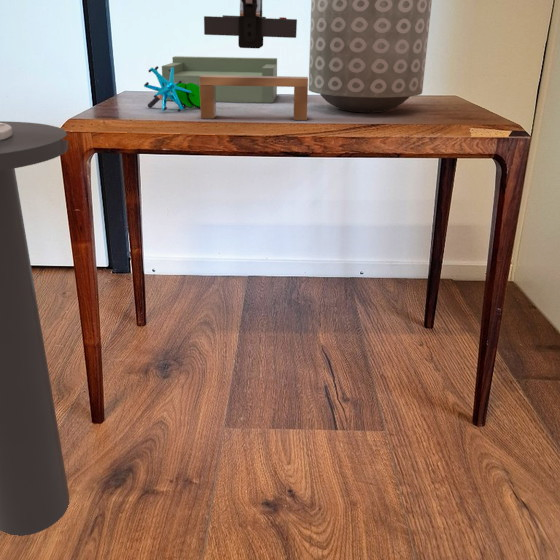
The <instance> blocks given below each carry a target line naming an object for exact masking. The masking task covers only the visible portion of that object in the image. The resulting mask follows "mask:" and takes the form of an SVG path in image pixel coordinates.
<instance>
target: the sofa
mask: <svg viewBox="0 0 560 560" xmlns="http://www.w3.org/2000/svg"><path fill="white" fill-rule="evenodd" d="M171 58H172V62H170V63H167V64H164V65H161V75H162V76H163V77H164V78H165V79H166V80H167V81H168V82H169V78H170V72H169V70H170V69H171V68H172V67H173V68H174V81H173V82H174V83H175V84H176V83H178V82H179V81H182V83H185V84H188V83H194V84H196V85H198V86H199V87H200V82H199V77H200V76H202V75H227V76H278V57H238V56H237V57H235V56H233V57H232V56H229V57H228V56H185V55H183V56H181V55H178V56H177V55H174V56H172V57H171ZM164 85H165V84H164ZM165 86H166V85H165ZM215 87H216V103H252V104H253V103H254V104H256V103H257V104H274V102H275V100H276V98H277V96H278V87H273V86H215ZM170 93H171V91H170ZM171 94H172V93H171ZM167 102H174V101H173V100H171V99H170V98H169V97H168V96H167Z"/></svg>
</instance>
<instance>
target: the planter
mask: <svg viewBox="0 0 560 560" xmlns="http://www.w3.org/2000/svg"><path fill="white" fill-rule="evenodd" d="M432 3H433V0H310V25H309V26H310V31H309V59H308V60H309V62H308V65H309V66H308V92H311V93H314V94H318V95H320V96H321V97H322V99H323V100H325V102H327V103H328V104H330V105H331V106H333V107H335V108H337V109H339V110H342V111H346V112H352V113H382V112H387V111H390V110H393V109H394V108H397V107H399V106H401V105H402V104H404V103H405V102H406V101H407V100H408V99H409V98H410V97H417V96H419V95H422V94H423V88H424V80H425V79H424V78H425V70H426V60H427V51H428V42H429V34H430V33H429V31H430V24H431V23H430V22H431V12H432Z"/></svg>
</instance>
